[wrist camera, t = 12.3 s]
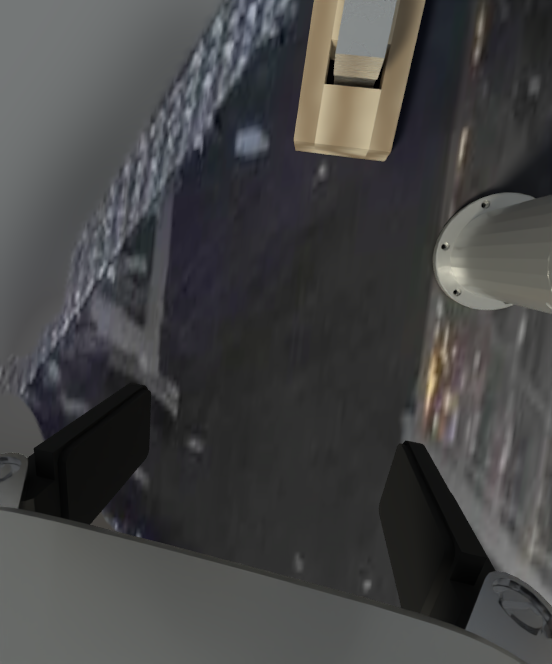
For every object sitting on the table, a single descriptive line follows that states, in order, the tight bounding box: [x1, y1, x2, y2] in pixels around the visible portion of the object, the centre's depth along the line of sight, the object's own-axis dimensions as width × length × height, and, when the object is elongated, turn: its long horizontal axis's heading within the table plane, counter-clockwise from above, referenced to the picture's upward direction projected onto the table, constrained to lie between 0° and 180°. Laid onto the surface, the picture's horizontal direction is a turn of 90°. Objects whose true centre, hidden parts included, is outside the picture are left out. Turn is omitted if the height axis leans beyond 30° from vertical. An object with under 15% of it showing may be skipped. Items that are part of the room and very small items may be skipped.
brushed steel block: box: [334, 0, 397, 89], centre depth 26 cm, size 4×12×8 cm, turn 171°
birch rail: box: [294, 0, 425, 161], centre depth 28 cm, size 10×22×3 cm, turn 171°
